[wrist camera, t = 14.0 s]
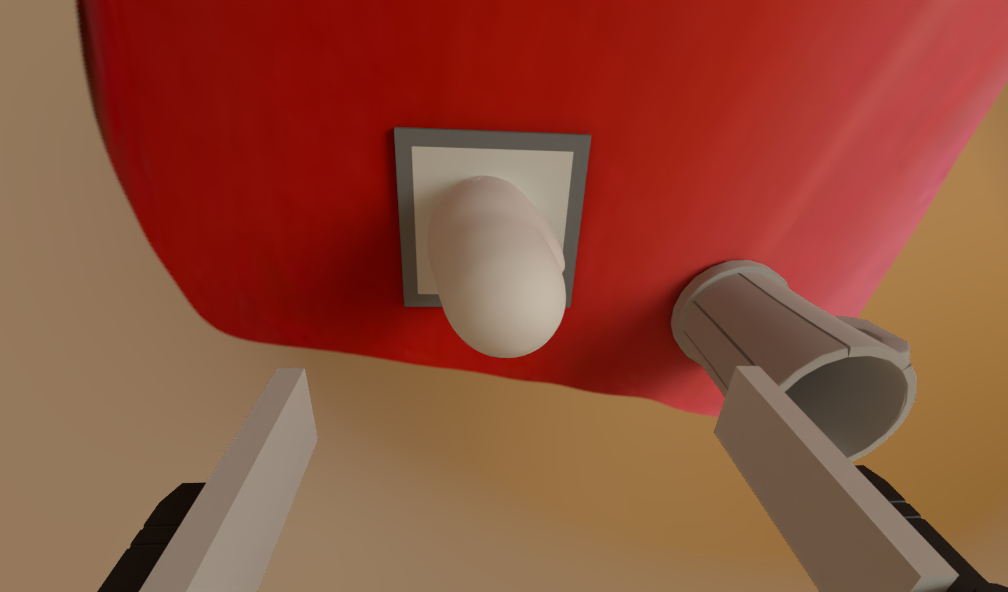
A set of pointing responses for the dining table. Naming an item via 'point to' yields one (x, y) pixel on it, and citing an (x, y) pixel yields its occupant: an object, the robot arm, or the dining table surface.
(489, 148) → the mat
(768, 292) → the cup
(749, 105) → the dining table surface
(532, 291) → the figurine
